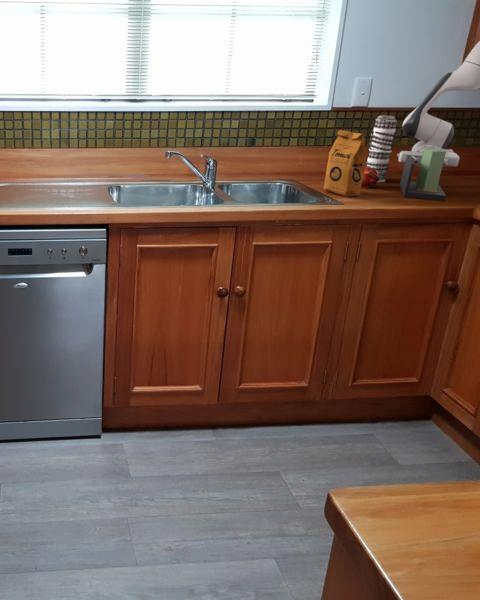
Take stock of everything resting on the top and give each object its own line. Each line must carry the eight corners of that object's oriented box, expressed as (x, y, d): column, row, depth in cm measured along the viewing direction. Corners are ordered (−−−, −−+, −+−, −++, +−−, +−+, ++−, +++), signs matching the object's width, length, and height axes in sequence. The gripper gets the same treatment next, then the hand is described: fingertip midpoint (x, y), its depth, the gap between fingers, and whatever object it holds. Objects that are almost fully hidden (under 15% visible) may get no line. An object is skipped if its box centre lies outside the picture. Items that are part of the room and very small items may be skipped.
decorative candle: (391, 182, 243) (405, 117, 233) (370, 182, 242) (383, 117, 232) (377, 177, 251) (390, 114, 242) (357, 177, 250) (369, 114, 240)
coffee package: (342, 198, 215) (354, 134, 207) (318, 190, 226) (329, 129, 218) (364, 196, 219) (377, 133, 210) (339, 189, 229) (351, 129, 221)
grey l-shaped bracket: (437, 188, 233) (445, 157, 228) (444, 201, 214) (453, 166, 209) (399, 185, 237) (406, 154, 233) (403, 197, 219) (411, 163, 214)
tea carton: (428, 187, 225) (437, 149, 219) (436, 190, 220) (446, 151, 215) (415, 187, 224) (424, 149, 219) (423, 190, 220) (432, 151, 214)
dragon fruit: (350, 186, 242) (374, 197, 232) (341, 175, 236) (365, 186, 227) (365, 168, 240) (389, 179, 231) (356, 157, 235) (380, 167, 226)
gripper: (398, 145, 239) (400, 150, 227) (457, 149, 232) (463, 155, 220) (394, 162, 241) (397, 167, 230) (453, 166, 234) (458, 172, 223)
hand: (430, 161), depth 225 cm, fingers open, 8 cm apart
